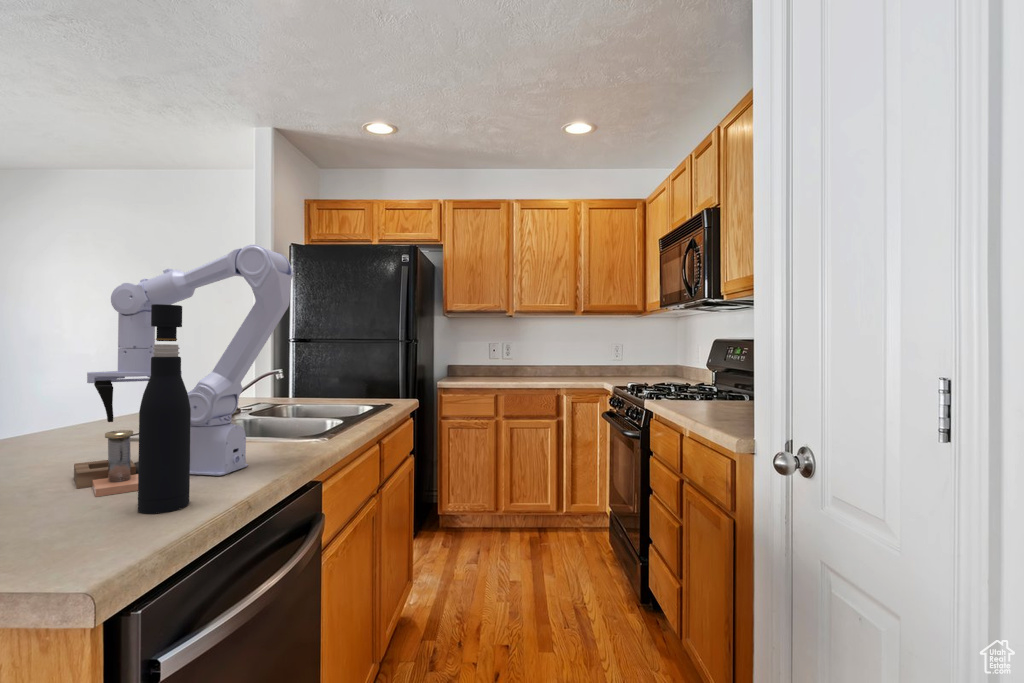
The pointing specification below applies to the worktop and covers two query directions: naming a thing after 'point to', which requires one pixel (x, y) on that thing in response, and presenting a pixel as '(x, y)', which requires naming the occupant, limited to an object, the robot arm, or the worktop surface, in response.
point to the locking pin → (119, 455)
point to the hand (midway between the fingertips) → (135, 419)
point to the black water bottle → (164, 423)
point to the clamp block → (94, 472)
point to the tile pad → (114, 486)
